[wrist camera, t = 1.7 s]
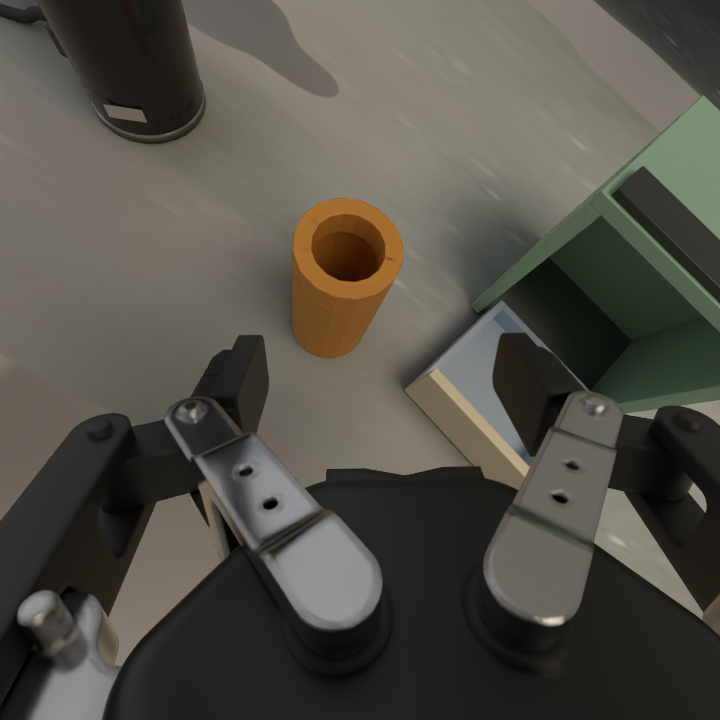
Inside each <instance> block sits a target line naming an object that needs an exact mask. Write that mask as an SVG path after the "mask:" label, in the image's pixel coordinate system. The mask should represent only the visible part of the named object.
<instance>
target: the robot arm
mask: <svg viewBox="0 0 720 720" xmlns="http://www.w3.org/2000/svg"><path fill="white" fill-rule="evenodd" d="M36 2H37V3H38V5H39V7H37V6H33V7H28V8H26V9H25V10H21V9H17V8H13V7H10V6H6V5H3V4H0V16H3V17H6V18H9V19H13V20H16V21H20V22H24V23H33V22H35V21H37V20H42V21H47V22H48V24H46V25H45V27H46V29H47V31H48V33H49V34H50V36H51V38H52V40H53V41H54V43H55V45H56V47H57V49H58V50H59V52H60V54H62V55H63V56H65V57H66V58H68V59H69V61H70V63H71V65H72V66H73V68H74V70H75V72H76V74H77V76H78V78H79V79H80V81H81V83H82V85H83V87H84V88H85V90H86V92H87V94H88V96H89V97H90V100H91V103H92V105H93V107H94V109H95V111H96V113H97V114H98V116H99V118H100V119H101V120H102V122H103V123H104V124H105V125H106V126H107V127H108V128H110V129H111V130H112V131H114V132H115V133H117V134H119V135H121V136H123V137H125V138H128V139H131V140H134V141H139V142H146V143H158V142H165V141H170V140H173V139H176V138H178V137H181V136H183V135H185V134H186V133H188V132H189V131H190V130H192V129H193V128H194V127H195V126H196V125H197V123H198V122H199V121H200V119H201V117H202V115H203V113H204V110H205V103H206V101H205V93H204V89H203V85H202V82H201V80H200V77H199V73H198V69H197V65H196V60H195V55H194V51H193V47H192V43H191V39H190V34H189V30H188V26H187V22H186V18H185V14H184V9H183V5H182V2H181V0H36ZM492 383H493V388H494V390H495V392H496V394H497V396H498V398H499V400H500V402H501V403H502V405H503V407H504V409H505V411H506V413H507V415H508V416H509V418H510V420H511V422H512V424H513V426H514V428H515V429H516V431H517V433H518V435H519V437H520V439H521V441H522V442H523V444H524V446H525V448H526V450H527V452H528V454H529V455H530V457H535V458H534V460H533V462H532V464H531V466H530V468H529V470H528V472H527V474H526V476H525V478H524V480H523V482H522V485H521V487H520V489H519V490H517V489H515V488H513V487H511V486H509V485H507V484H504V483H501V482H498V481H495V480H491V479H487V478H485V477H484V475H483V472H482V470H481V467H480V466H470V467H441V468H436V469H432V470H428V471H423V472H419V473H414V474H410V475H399V474H393V473H387V472H382V471H376V470H370V469H365V468H364V469H327V472H326V481H323V482H320V483H317V484H314V485H311V486H309V487H307V488H304V487H303V486H302V485H301V484H300V482H299V481H298V480H297V479H296V478H295V477H294V476H293V474H292V473H291V472H290V471H289V470H288V469H287V468H286V467H285V465H284V464H283V463H282V462H281V461H280V460H279V459H278V457H277V456H276V455H275V454H274V453H273V452H272V451H271V450H270V448H269V447H268V446H267V445H266V444H265V443H264V442H263V440H262V439H261V438H260V437H259V436H258V435H257V434H256V432H257V429H258V425H259V422H260V418H261V415H262V411H263V408H264V404H265V401H266V397H267V394H268V388H269V375H268V368H267V360H266V353H265V345H264V339H263V336H262V335H239V336H238V338H237V340H236V342H235V344H234V346H233V348H232V350H222V351H221V352H220V353H218V354H217V355H216V356H214V357H213V358H212V360H211V361H210V363H209V365H208V368H207V369H206V370H205V372H204V374H203V376H202V377H201V379H200V381H199V383H198V385H197V386H196V388H195V390H194V392H193V393H192V395H191V397H190V398H186V399H183V400H181V401H179V402H177V403H175V404H173V405H172V406H171V407H170V408H168V410H167V411H166V412H165V415H164V419H163V420H160V421H156V422H152V423H147V424H143V425H138V426H134V427H132V425H131V423H130V420H129V418H128V417H127V416H125V415H122V414H117V413H109V414H103V415H99V416H95V417H92V418H90V419H88V420H86V421H84V422H82V423H80V424H79V425H77V426H76V427H75V428H74V429H73V430H72V431H71V432H70V433H69V434H68V436H67V437H66V438H65V440H64V441H63V442H62V443H61V445H60V446H59V447H58V448H57V450H56V451H55V452H54V454H53V455H52V456H51V457H50V459H49V460H48V461H47V462H46V464H45V465H44V467H43V468H42V469H41V470H40V471H39V473H38V474H37V475H36V476H35V478H34V479H33V481H32V482H31V483H30V484H29V485H28V487H27V488H26V489H25V490H24V492H23V493H22V494H21V496H20V497H19V498H18V499H17V501H16V502H15V503H14V504H13V506H12V507H11V508H10V510H9V511H8V512H7V513H6V515H5V516H4V517H3V519H2V520H1V521H0V720H720V426H719V425H718V424H717V423H716V422H715V421H714V420H712V419H711V418H709V417H708V416H706V415H704V414H702V413H700V412H698V411H695V410H692V409H689V408H685V407H681V406H663V407H661V408H659V409H658V411H657V413H656V415H655V417H654V419H647V418H641V417H636V416H630V415H625V414H624V412H623V409H622V407H621V406H620V405H619V404H618V403H617V402H616V401H614V400H613V399H611V398H609V397H607V396H605V395H602V394H599V393H596V392H591V391H586V390H585V389H584V388H583V387H582V385H581V384H580V383H579V382H578V381H577V380H576V378H575V377H574V376H573V375H572V374H571V373H570V372H568V369H567V368H566V367H565V366H564V365H562V362H561V361H560V360H559V359H558V358H557V357H556V356H555V354H553V353H551V352H550V351H548V350H546V349H545V348H543V347H538V346H537V345H536V344H535V343H534V341H533V340H532V339H531V338H530V337H529V335H528V334H527V333H502V334H501V336H500V338H499V342H498V347H497V352H496V357H495V362H494V368H493V373H492ZM693 483H695V484H696V485H697V487H698V488H699V489H700V490H701V491H702V493H703V494H704V496H705V499H706V503H707V510H706V513H705V512H704V511H703V510H702V508H701V507H700V506H699V505H698V504H697V502H696V501H695V500H694V499H693V498H692V496H691V495H690V494H689V493H688V491H689V490H690V488H691V486H692V484H693ZM607 488H611V489H616V490H620V491H624V493H625V494H626V496H627V498H628V499H629V501H630V502H631V504H632V505H633V507H634V508H635V510H636V511H637V513H638V514H639V516H640V517H641V519H642V520H643V522H644V523H645V525H646V526H647V528H648V529H649V531H650V532H651V534H652V535H653V537H654V538H655V540H656V542H657V543H658V545H659V546H660V548H661V549H662V551H663V552H664V554H665V555H666V557H667V558H668V560H669V561H670V563H671V564H672V566H673V567H674V569H675V570H676V572H677V573H678V575H679V576H680V578H681V579H682V581H683V582H684V584H685V585H686V587H687V588H688V590H689V591H690V593H691V595H692V596H693V598H694V599H695V601H696V602H697V604H698V605H699V607H700V608H701V610H702V611H703V616H702V620H701V619H700V618H698V617H697V616H696V615H695V614H693V613H692V612H690V611H689V610H688V609H686V608H685V607H683V606H682V605H680V604H679V603H678V602H676V601H675V600H673V599H672V598H671V597H669V596H668V595H666V594H665V593H664V592H662V591H661V590H659V589H658V588H657V587H655V586H654V585H652V584H651V583H650V582H648V581H647V580H645V579H644V578H642V577H641V576H640V575H638V574H637V573H635V572H634V571H633V570H631V569H630V568H628V567H627V566H626V565H624V564H623V563H621V562H620V561H619V560H617V559H616V558H614V557H613V556H612V555H610V554H609V553H607V552H606V551H605V550H603V549H602V548H600V547H599V546H598V545H596V544H595V543H594V539H595V535H596V531H597V527H598V523H599V519H600V515H601V512H602V508H603V504H604V500H605V496H606V492H607ZM183 494H187V495H188V497H189V499H190V501H191V503H192V504H193V506H194V508H195V510H196V512H197V513H198V515H199V517H200V519H201V521H202V522H203V524H204V526H205V528H206V530H207V531H208V533H209V535H210V537H211V539H212V541H213V543H214V545H215V548H216V550H217V553H218V555H219V558H220V560H221V563H220V564H219V565H218V566H217V567H216V568H215V569H214V570H213V571H212V572H211V573H209V574H208V575H207V576H206V577H205V578H204V579H203V580H202V581H201V582H200V583H199V584H198V585H197V586H196V587H195V588H194V589H193V590H192V591H191V592H190V593H189V594H188V595H187V596H185V598H183V599H182V600H181V601H180V602H179V603H178V604H177V605H176V606H175V607H174V608H173V609H172V610H171V611H170V612H169V613H168V614H167V615H166V616H165V617H164V618H162V619H161V620H160V621H159V622H158V623H157V624H156V625H155V626H154V627H153V628H152V629H151V630H150V631H149V632H148V633H147V634H146V635H145V636H144V637H143V638H142V639H141V640H140V642H139V643H138V644H137V645H136V647H135V648H134V649H133V650H132V652H131V653H130V654H129V656H128V658H127V659H126V661H125V663H124V664H123V666H120V667H119V666H115V661H116V657H117V652H118V647H119V640H118V635H117V633H116V631H115V629H114V627H113V625H112V624H111V622H110V620H109V618H108V617H109V614H110V612H111V609H112V607H113V605H114V602H115V600H116V597H117V595H118V593H119V590H120V588H121V585H122V583H123V581H124V578H125V576H126V574H127V571H128V569H129V566H130V564H131V562H132V559H133V557H134V554H135V552H136V550H137V547H138V545H139V543H140V540H141V538H142V535H143V533H144V531H145V528H146V526H147V523H148V521H149V519H150V516H151V514H152V512H153V509H154V507H155V504H156V502H157V501H161V500H164V499H168V498H172V497H175V496H179V495H183Z"/></svg>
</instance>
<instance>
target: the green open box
mask: <svg viewBox="0 0 720 720" xmlns="http://www.w3.org/2000/svg"><path fill="white" fill-rule="evenodd" d="M548 257H549V258H550V259H551V260H552V261H553V262H554V263H555V264H556V265H557V266H558V267H559V268H560V269H561V270H562V271H563V272H564V273H565V274H566V275H567V276H568V277H569V278H570V279H571V280H572V281H573V282H574V283H575V284H576V285H577V286H578V287H579V288H580V289H581V290H582V291H583V292H584V293H585V294H586V295H587V296H588V297H589V298H590V299H591V300H592V301H593V302H594V303H595V304H596V305H597V306H598V307H599V308H600V309H601V310H602V311H603V312H604V313H605V314H606V315H607V316H608V317H609V318H610V319H611V320H612V321H613V322H614V323H615V324H616V326H617V327H618V328H619V329H620V330H621V331H622V332H623V333H624V334H625V335H626V336H627V337H628V338H629V339H630V340H631V341H632V342H631V343H630V345H629V346H628V347H627V348H626V349H625V350H624V352H623V353H622V354H621V355H620V356H619V357H618V359H617V360H616V361H615V362H614V363H613V364H612V366H611V367H610V368H609V369H608V370H607V371H606V373H605V374H604V375H603V376H602V377H601V378H600V380H599V381H598V382H597V383H596V384H595V385H594V387H593V388H592V389H591V390H590V391H591V392H596V393H599V394H602V395H605V396H607V397H609V398H611V399H613V400H614V401H616V402H617V403H618V404H619V405H620V406H621V407H622V409H623V412H624V414H625V413H632V412H639V411H646V410H653V409H659V408H661V407H663V406H681V405H688V404H695V403H702V402H709V401H716V400H720V111H719V110H718V109H717V108H716V107H715V106H714V105H713V104H712V103H711V102H710V101H709V100H708V99H707V98H706V97H705V96H702V97H701V98H699V99H698V100H697V101H696V102H695V103H694V104H693V105H692V106H690V107H689V108H688V109H687V110H686V111H685V112H684V113H683V114H682V115H680V116H679V117H678V118H677V119H676V120H675V121H674V122H672V123H671V124H670V125H669V126H668V127H667V128H666V129H665V130H663V131H662V132H661V133H660V134H659V135H658V136H657V137H656V138H654V139H653V140H652V141H651V142H650V143H649V144H648V145H647V146H645V147H644V148H643V149H642V150H641V151H640V152H639V153H638V154H636V155H635V156H634V157H633V158H632V159H631V160H630V161H629V162H627V163H626V164H625V165H624V166H623V167H622V168H621V169H620V170H618V171H617V172H616V173H615V174H614V175H613V176H612V177H611V178H609V179H608V180H607V181H606V182H605V183H604V184H603V185H602V186H600V187H599V188H598V189H597V190H596V191H595V192H594V193H593V194H591V195H590V196H589V197H588V198H587V199H586V200H585V201H584V202H582V203H581V204H580V205H579V206H578V207H577V208H576V209H575V210H573V211H572V212H571V213H570V214H569V215H568V216H567V217H566V218H564V219H563V220H562V221H561V222H560V223H559V224H558V225H557V226H555V227H554V228H553V229H552V230H551V231H550V232H549V233H548V234H546V235H545V236H544V237H543V238H542V239H541V240H540V241H539V242H538V243H537V244H535V245H534V246H533V247H532V248H531V249H530V250H529V251H528V252H527V253H526V254H525V255H524V256H523V257H521V258H520V259H519V260H518V261H517V262H516V263H515V264H514V265H513V266H512V267H511V268H510V269H509V270H508V271H506V272H505V273H504V274H503V275H502V276H501V277H500V278H499V279H498V280H497V281H496V282H495V283H494V284H492V285H491V286H490V287H489V288H488V289H487V290H486V291H485V292H484V293H483V294H482V295H481V296H480V297H478V298H477V299H476V300H475V301H474V302H473V303H472V304H471V305H470V306H471V307H472V308H473V309H474V310H475V311H476V312H477V313H479V312H480V311H481V310H482V309H484V308H485V307H486V306H487V305H489V304H490V303H491V302H493V301H494V300H495V299H496V298H498V297H499V296H500V295H501V294H503V293H504V292H505V291H506V290H508V289H509V288H510V287H511V286H513V285H514V284H515V283H516V282H518V281H519V280H520V279H522V278H523V277H524V276H525V275H527V274H528V273H529V272H530V271H532V270H533V269H534V268H535V267H537V266H538V265H539V264H540V263H542V262H543V261H544V260H545V259H547V258H548Z"/></svg>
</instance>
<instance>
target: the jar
mask: <svg viewBox="0 0 720 720" xmlns="http://www.w3.org/2000/svg"><path fill="white" fill-rule="evenodd" d="M402 258H403V244H402V241H401V239H400V236H399V234H398V232H397V229H396V227H395V225H394V224H393V223H392V222H391V221H390V220H389V219H388V217H387V216H386V215H385V214H384V213H383V212H382V211H380V210H379V209H378V208H376V207H374V206H372V205H370V204H368V203H366V202H364V201H360V200H354V199H346V198H341V199H340V198H337V199H333V200H329V201H324V202H321V203H318V204H317V205H316V206H314V207H313V208H311V209H310V210H309V211H307V212H306V213H304V215H303V216H302V218H301V220H300V222H299V223H298V225H297V227H296V228H295V230H294V236H293V249H292V327H293V331H294V334H295V337H296V339H297V340H298V342H299V343H300V345H301V346H302V347H303V348H304V349H305V350H307V351H308V352H310V353H312V354H313V355H316V356H319V357H324V358H335V357H339V356H342V355H345V354H346V353H348V352H350V351H351V350H352V349H353V348H354V347H355V346H356V345H357V344H358V343H359V341H360V340H361V338H362V336H363V334H364V333H365V331H366V329H367V327H368V326H369V324H370V322H371V320H372V319H373V317H374V315H375V313H376V312H377V310H378V308H379V306H380V305H381V303H382V301H383V299H384V298H385V296H386V294H387V292H388V290H389V289H390V287H391V285H392V283H393V282H394V280H395V278H396V276H397V274H398V271H399V269H400V267H401V265H402Z"/></svg>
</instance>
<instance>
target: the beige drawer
mask: <svg viewBox="0 0 720 720" xmlns="http://www.w3.org/2000/svg"><path fill="white" fill-rule="evenodd" d="M502 333H527V334H528V335H529V337H530V338H531V339H532V340H533V341H534V343H535V344H536V345H537V346H538V347H543V348H545V349H546V350H548V351H550V352H551V353H553V352H552V351H551V350H550V349H549V348H548V347H547V346H546V345H545V344H544V343H543V342H542V341H541V340H540V339H539V338H538V336H537V335H536V334H535V333H534V332H533V331H532V330H531V329H530V328H529V327H528V326H527V325H526V324H525V323H524V322H523V321H522V320H521V319H520V318H519V317H518V316H517V315H516V314H515V313H514V312H513V311H512V310H511V309H510V308H509V306H508V305H507V304H506V303H505V302H504V301H503V300H501V301H499V302H498V303H497V304H495V305H494V306H493V307H492V308H490V309H489V310H488V311H486V312H485V313H484V314H483V315H482V316H481V317H480V318H479V319H478V320H477V321H476V322H475V323H474V324H473V325H472V326H471V327H470V328H469V329H468V330H466V331H465V332H464V333H463V334H462V335H461V336H460V337H459V338H458V339H457V340H456V341H455V342H454V343H453V344H452V345H451V346H450V347H449V348H448V349H447V350H446V351H444V352H443V353H442V354H441V355H440V356H439V357H438V358H437V359H436V360H435V361H434V362H433V363H432V364H431V365H430V366H429V367H428V368H427V369H426V370H425V371H423V372H422V373H421V374H420V375H419V376H418V377H417V378H416V379H415V380H414V381H413V382H412V383H411V384H410V385H409V386H408V387H407V388H406V389H405V392H406V393H407V394H408V395H409V396H410V397H411V398H412V399H413V400H414V402H415V403H416V404H417V405H418V406H419V407H420V408H421V409H422V410H423V411H424V412H425V413H426V415H427V416H428V417H429V418H430V419H431V420H432V421H433V422H434V423H435V424H436V425H437V426H438V427H439V429H440V430H441V431H442V432H443V433H444V434H445V435H446V436H447V437H448V438H449V439H450V440H451V442H452V443H453V444H454V445H455V446H456V447H457V448H458V449H459V450H460V451H461V452H462V453H463V455H464V456H465V457H466V458H467V459H468V460H469V461H470V462H471V463H472V464H473V465H474V466H480V467H481V470H482V472H483V475H484V477H485V478H487V479H491V480H495V481H498V482H501V483H504V484H507V485H509V486H511V487H513V488H515V489H517V490H519V489H520V487H521V485H522V482H523V480H524V478H525V476H526V474H527V472H528V470H529V468H530V466H531V464H532V462H533V460H534V458H535V457H530V455H529V454H528V452H527V450H526V448H525V446H524V444H523V442H522V441H521V439H520V437H519V435H518V433H517V431H516V429H515V428H514V426H513V424H512V422H511V420H510V418H509V416H508V415H507V413H506V411H505V409H504V407H503V405H502V403H501V402H500V400H499V398H498V396H497V394H496V392H495V390H494V388H493V383H492V373H493V368H494V362H495V357H496V352H497V347H498V342H499V338H500V336H501V334H502ZM553 354H554V353H553ZM555 356H556V355H555ZM556 357H557V356H556ZM557 358H558V357H557ZM558 359H559V358H558ZM559 360H560V359H559ZM560 361H561V360H560ZM561 362H562V361H561ZM562 365H564V366H565V367H566V368H567V366H566V365H565V364H564V363H563V362H562ZM567 369H568V368H567ZM568 372H570V373H571V374H572V375H573V376H574V377H575V378H576V380H577V381H578V382H579V383H580V384H581V385H582V387H583V388H584V389H585V390H586V391H590V390H589V389H588V388H587V387H586V386H585V385H584V384H583V383H582V382H581V381H580V380H579V379H578V378H577V377H576V376H575V375H574V374H573V373H572V372H571V371H570V370H569V369H568Z"/></svg>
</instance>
